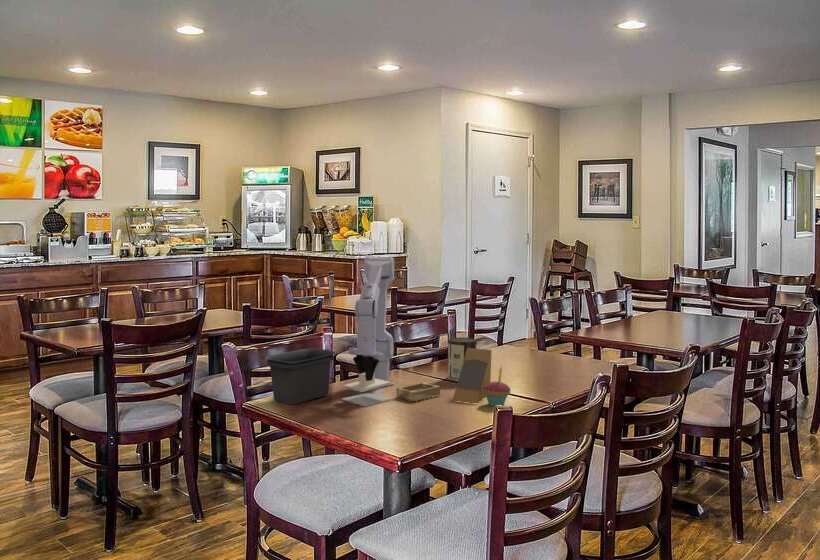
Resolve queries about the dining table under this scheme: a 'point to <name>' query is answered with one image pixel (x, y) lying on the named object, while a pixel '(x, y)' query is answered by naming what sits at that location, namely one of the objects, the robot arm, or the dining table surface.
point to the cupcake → (496, 392)
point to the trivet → (366, 399)
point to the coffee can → (458, 355)
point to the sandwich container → (473, 376)
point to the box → (418, 391)
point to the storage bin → (300, 374)
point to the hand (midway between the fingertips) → (366, 379)
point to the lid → (366, 383)
